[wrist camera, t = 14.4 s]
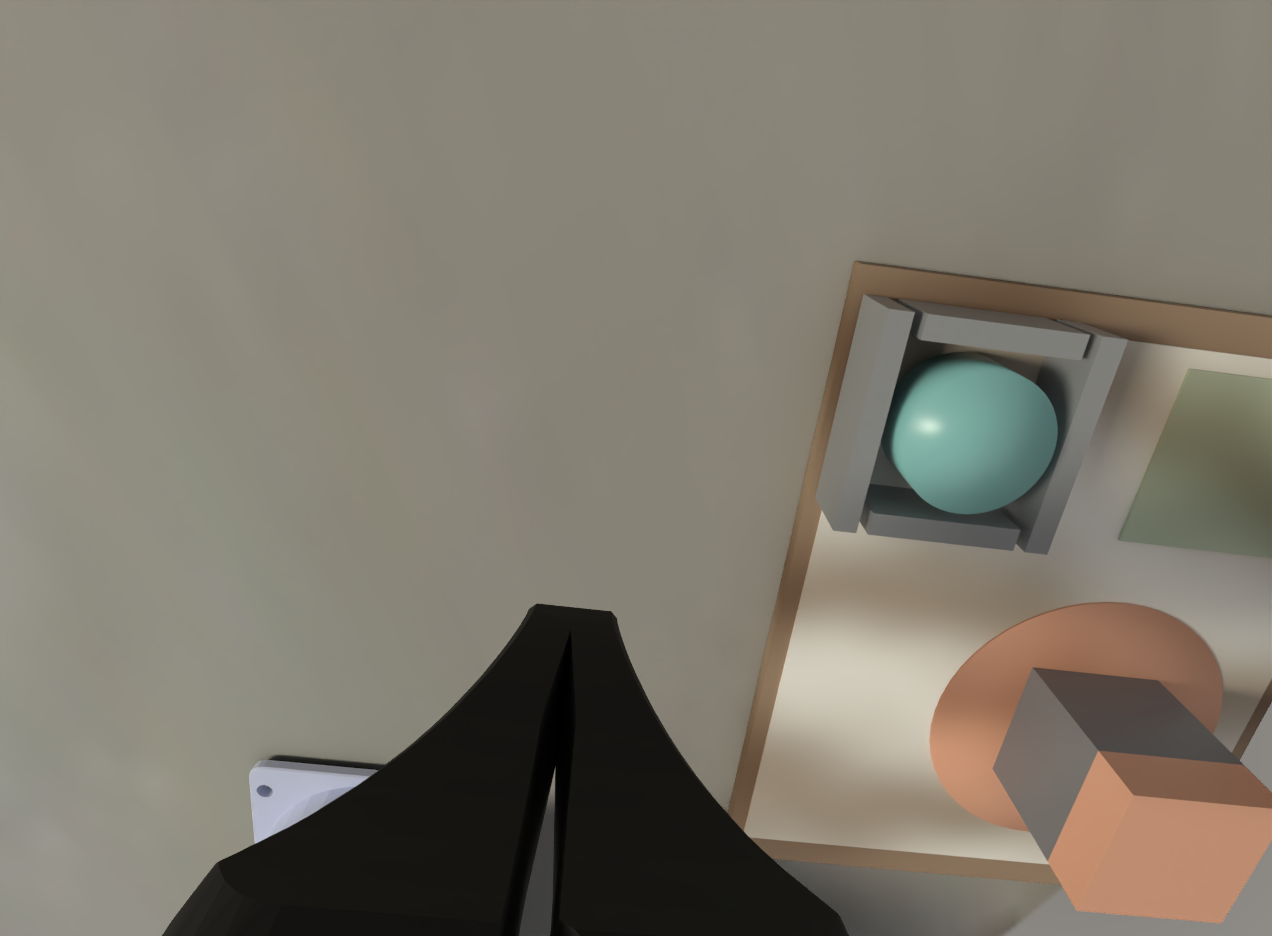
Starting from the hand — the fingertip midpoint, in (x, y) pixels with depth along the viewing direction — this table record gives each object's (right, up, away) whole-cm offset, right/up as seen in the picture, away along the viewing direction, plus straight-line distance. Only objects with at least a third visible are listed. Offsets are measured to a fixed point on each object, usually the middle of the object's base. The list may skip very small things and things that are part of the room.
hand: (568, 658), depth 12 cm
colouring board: (+13, -2, +11) cm, 17 cm away
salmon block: (+15, -5, +11) cm, 19 cm away
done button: (+9, +4, +7) cm, 12 cm away
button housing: (+9, +5, +8) cm, 13 cm away
